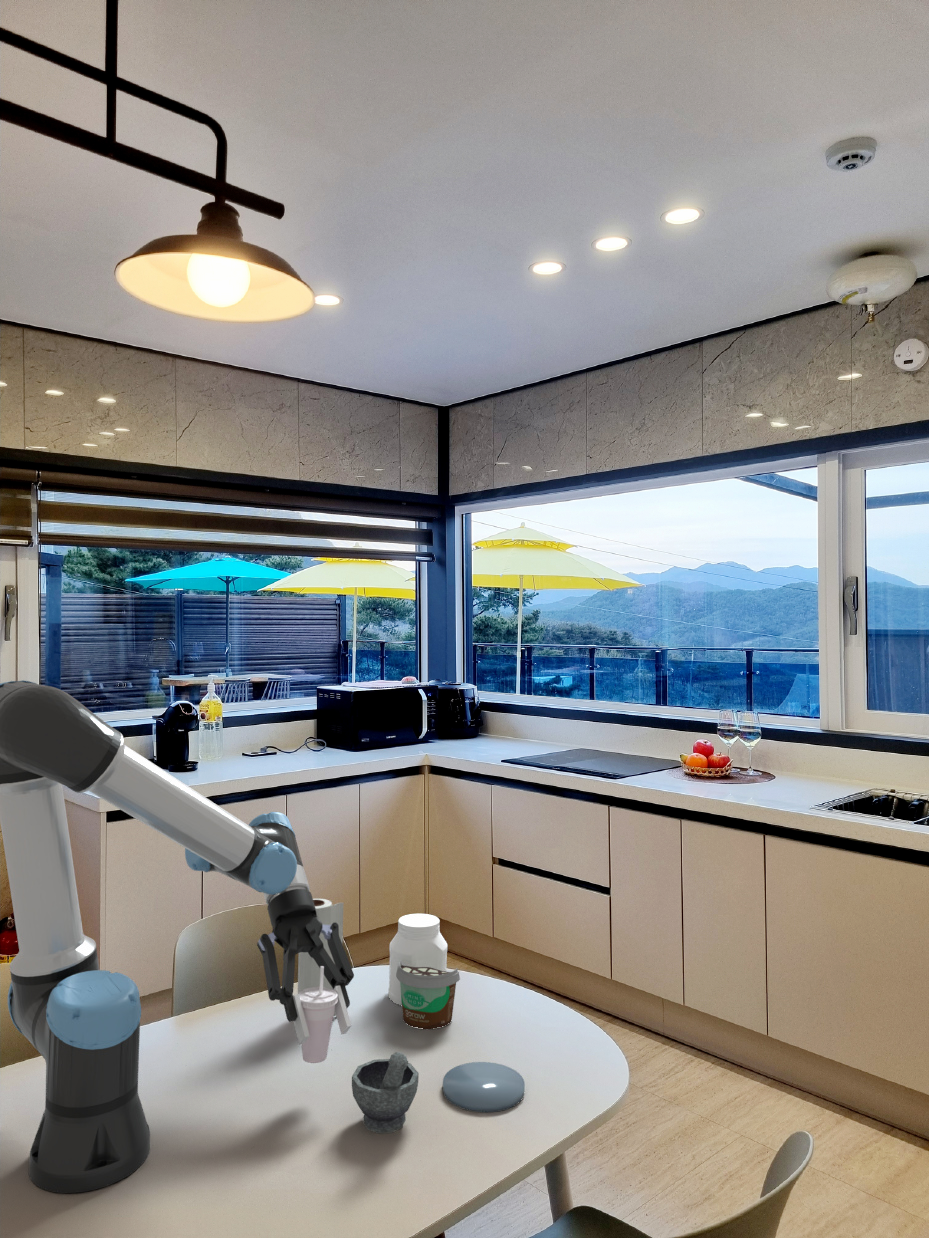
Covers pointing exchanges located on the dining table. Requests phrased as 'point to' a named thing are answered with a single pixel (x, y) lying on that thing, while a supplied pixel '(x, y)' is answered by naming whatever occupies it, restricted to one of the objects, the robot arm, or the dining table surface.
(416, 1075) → the mortar and pestle
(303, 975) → the paper towel roll
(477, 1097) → the dish
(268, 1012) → the dining table surface
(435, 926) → the jar
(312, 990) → the smoothie
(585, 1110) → the dining table surface
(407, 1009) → the food container
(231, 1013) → the dining table surface
